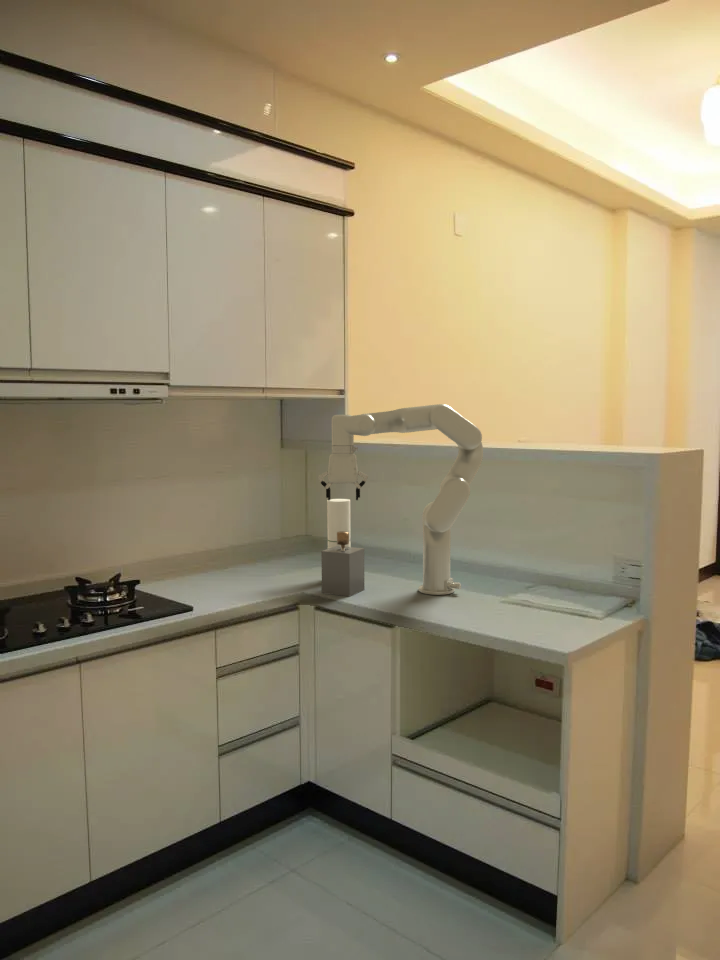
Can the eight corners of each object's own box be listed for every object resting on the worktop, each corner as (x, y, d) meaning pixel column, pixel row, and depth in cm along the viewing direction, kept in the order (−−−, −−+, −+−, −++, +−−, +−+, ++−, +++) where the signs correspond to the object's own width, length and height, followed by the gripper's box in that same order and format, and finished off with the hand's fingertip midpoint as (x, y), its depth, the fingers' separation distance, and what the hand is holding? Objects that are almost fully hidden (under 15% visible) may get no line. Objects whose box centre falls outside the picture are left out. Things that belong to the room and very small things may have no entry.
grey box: (364, 589, 269) (364, 548, 268) (349, 596, 260) (349, 553, 258) (337, 586, 274) (337, 545, 273) (321, 593, 265) (321, 551, 263)
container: (339, 576, 291) (339, 498, 288) (355, 579, 285) (355, 500, 282) (323, 579, 285) (322, 500, 282) (338, 583, 279) (338, 502, 276)
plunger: (358, 586, 269) (358, 531, 267) (347, 591, 262) (347, 534, 260) (339, 584, 272) (338, 529, 270) (328, 589, 265) (327, 533, 263)
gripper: (367, 449, 266) (368, 498, 268) (318, 450, 266) (318, 498, 268) (367, 451, 258) (368, 501, 260) (316, 451, 259) (317, 501, 260)
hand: (343, 499), depth 264 cm, fingers open, 9 cm apart
